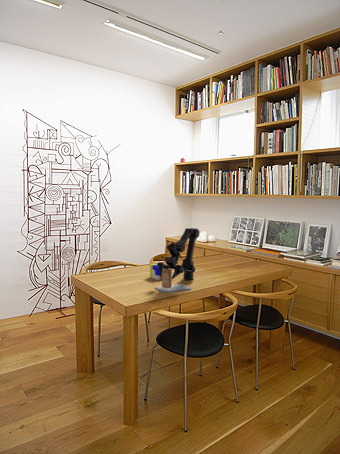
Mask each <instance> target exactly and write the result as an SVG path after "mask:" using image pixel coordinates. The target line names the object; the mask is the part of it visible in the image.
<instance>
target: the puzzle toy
mask: <svg viewBox="0 0 340 454" xmlns="http://www.w3.org/2000/svg"><path fill="white" fill-rule="evenodd" d="M164 265H167V264H166V263H164ZM165 269H169V268H165ZM159 276H160V269H159V268H158V266H157V263H150V264H149V278H152V279H154V280H157V281H159V280H162V276H161V277H159Z"/></svg>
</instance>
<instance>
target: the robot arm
mask: <svg viewBox="0 0 340 454" xmlns="http://www.w3.org/2000/svg"><path fill="white" fill-rule="evenodd" d="M199 235H200V230H199V228H196V227H194V228H191V227H190V228H189V227H188V228H187V227H186V228H185V229H184V232H183V234H182V235H181V237H180V238H179V240H178V241H175V242H170V244H168V245H167V246H166V249H167V252H168V253H169V255H170V256H164V259H163V262H160V261H159V262H157V263H156V264H157V266H158V268H159V269H160V276H159V277H161V276H162V270H163V269H165V268H168V269H172V270H174V272H173V274H172V275H171V280H174V279H175V278H176V277H178V276H179V275H181V274H183V277H182V279H183V280H185V281H193V280H194V281H195V278H194V273H195V272H196V267H195V265H194V263H195V262H194V260H193V257H194V252H195V251H194V250H195V246H196V245H195V244H196V240H197V239H198V238H199ZM187 242H188V244H187ZM186 244H187V249H186ZM185 249H186V255H185V258H183V259H182V263H181V264H179V262H178V261H179V259H181V258H182V256H181V253H183V252H185ZM164 262H165V263H164ZM164 264H166V265H164Z"/></svg>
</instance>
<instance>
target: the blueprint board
mask: <svg viewBox="0 0 340 454" xmlns="http://www.w3.org/2000/svg"><path fill="white" fill-rule="evenodd" d="M154 288H155V290H157V291H159V292H161V293H162V294H163V293H164V294H166V292H167V293H172V292H174V291H175V292H181V291H189V290H192V289H191V287H189V286H187V285H186V284H183V283H179V284H178V283H177V284H171V287H170V288H164V287H162V285H161V286H155V287H154ZM175 292H174V293H175Z"/></svg>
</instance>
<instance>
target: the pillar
mask: <svg viewBox="0 0 340 454" xmlns="http://www.w3.org/2000/svg"><path fill="white" fill-rule="evenodd" d="M172 270H173V269H169V268H168V269H163V270H162V279H161V286H162V287H164V288H170V287H171V285H172V276H173V274H172Z"/></svg>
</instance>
